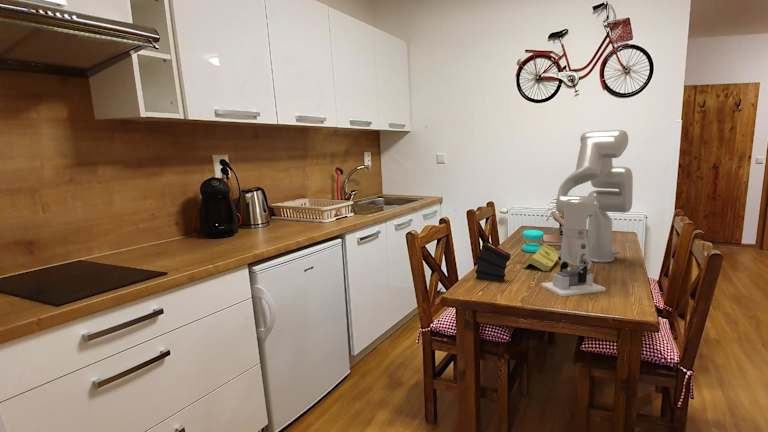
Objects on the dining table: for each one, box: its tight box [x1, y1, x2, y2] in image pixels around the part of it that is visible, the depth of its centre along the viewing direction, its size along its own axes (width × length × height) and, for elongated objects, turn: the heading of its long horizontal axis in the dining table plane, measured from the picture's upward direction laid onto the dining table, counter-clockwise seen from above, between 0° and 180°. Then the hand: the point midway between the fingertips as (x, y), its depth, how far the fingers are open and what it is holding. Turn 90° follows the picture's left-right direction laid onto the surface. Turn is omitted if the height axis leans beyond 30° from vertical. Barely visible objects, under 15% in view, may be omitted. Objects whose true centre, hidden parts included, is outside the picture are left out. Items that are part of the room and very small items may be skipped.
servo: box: [555, 266, 590, 288], centre depth 152 cm, size 11×4×7 cm, turn 103°
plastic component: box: [522, 244, 559, 272], centre depth 183 cm, size 20×7×10 cm
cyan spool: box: [522, 229, 545, 254], centre depth 206 cm, size 10×10×10 cm
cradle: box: [540, 273, 606, 297], centre depth 152 cm, size 18×12×5 cm, turn 103°
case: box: [540, 210, 564, 247], centre depth 223 cm, size 20×21×16 cm
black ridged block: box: [474, 241, 512, 282], centre depth 165 cm, size 4×13×15 cm, turn 64°
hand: (572, 278), depth 152 cm, fingers open, 9 cm apart
